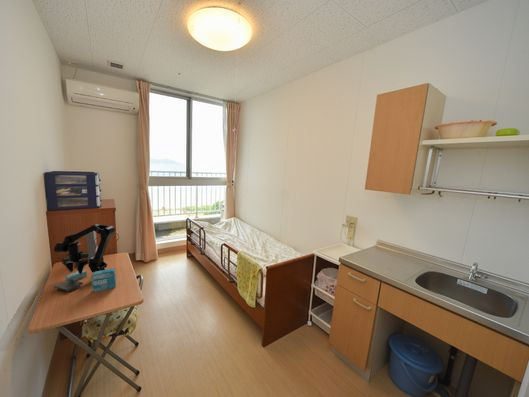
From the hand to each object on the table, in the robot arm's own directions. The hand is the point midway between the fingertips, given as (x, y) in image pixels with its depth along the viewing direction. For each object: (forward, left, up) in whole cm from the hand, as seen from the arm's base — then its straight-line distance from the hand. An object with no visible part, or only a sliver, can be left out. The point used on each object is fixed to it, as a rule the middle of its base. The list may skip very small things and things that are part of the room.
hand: (76, 272), depth 154 cm
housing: (0, 0, -5) cm, 5 cm away
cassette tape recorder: (+27, -30, -5) cm, 41 cm away
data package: (-32, +3, -5) cm, 32 cm away
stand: (-9, +10, -4) cm, 14 cm away
